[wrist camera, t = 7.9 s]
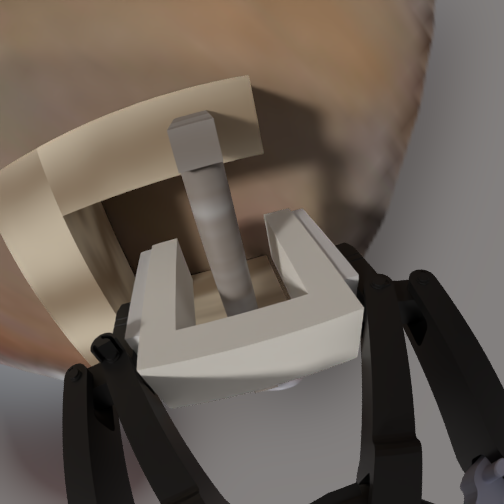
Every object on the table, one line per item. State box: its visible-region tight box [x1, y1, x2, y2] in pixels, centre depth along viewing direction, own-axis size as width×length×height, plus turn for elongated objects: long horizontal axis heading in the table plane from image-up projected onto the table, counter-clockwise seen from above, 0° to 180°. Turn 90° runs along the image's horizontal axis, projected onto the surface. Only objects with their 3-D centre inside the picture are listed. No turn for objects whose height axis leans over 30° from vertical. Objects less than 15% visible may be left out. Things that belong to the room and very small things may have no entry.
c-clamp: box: [0, 75, 287, 393], centre depth 16 cm, size 18×16×10 cm
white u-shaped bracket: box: [137, 208, 364, 409], centre depth 13 cm, size 3×8×8 cm, turn 101°
